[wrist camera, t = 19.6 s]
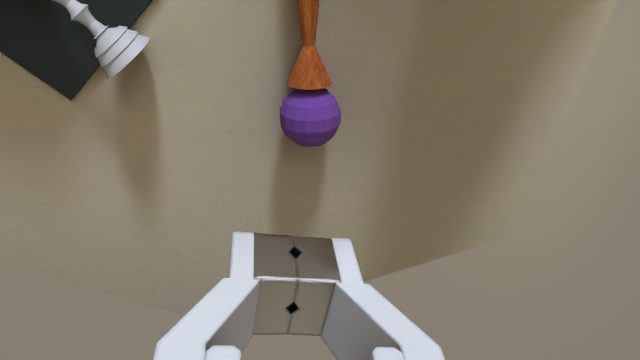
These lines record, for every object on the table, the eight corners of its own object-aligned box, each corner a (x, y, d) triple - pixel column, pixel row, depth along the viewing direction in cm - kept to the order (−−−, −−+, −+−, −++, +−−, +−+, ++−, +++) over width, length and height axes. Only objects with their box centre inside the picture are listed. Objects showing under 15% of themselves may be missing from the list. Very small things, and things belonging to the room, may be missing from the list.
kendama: (355, -91, 32) (348, 151, 41) (329, -85, 37) (328, 130, 46) (278, -93, 30) (289, 160, 40) (262, -86, 35) (275, 137, 45)
